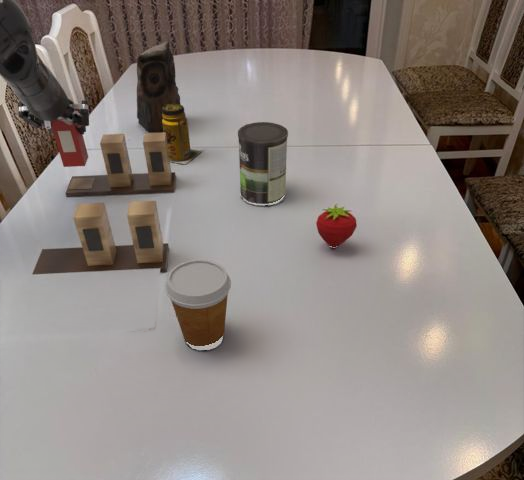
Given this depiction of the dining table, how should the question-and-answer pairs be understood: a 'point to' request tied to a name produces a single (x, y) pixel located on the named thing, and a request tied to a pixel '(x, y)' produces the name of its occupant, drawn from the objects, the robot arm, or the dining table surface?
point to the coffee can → (262, 162)
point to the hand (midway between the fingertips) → (69, 130)
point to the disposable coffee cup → (199, 299)
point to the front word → (109, 243)
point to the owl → (155, 86)
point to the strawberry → (336, 225)
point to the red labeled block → (69, 144)
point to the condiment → (177, 134)
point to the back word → (128, 170)
